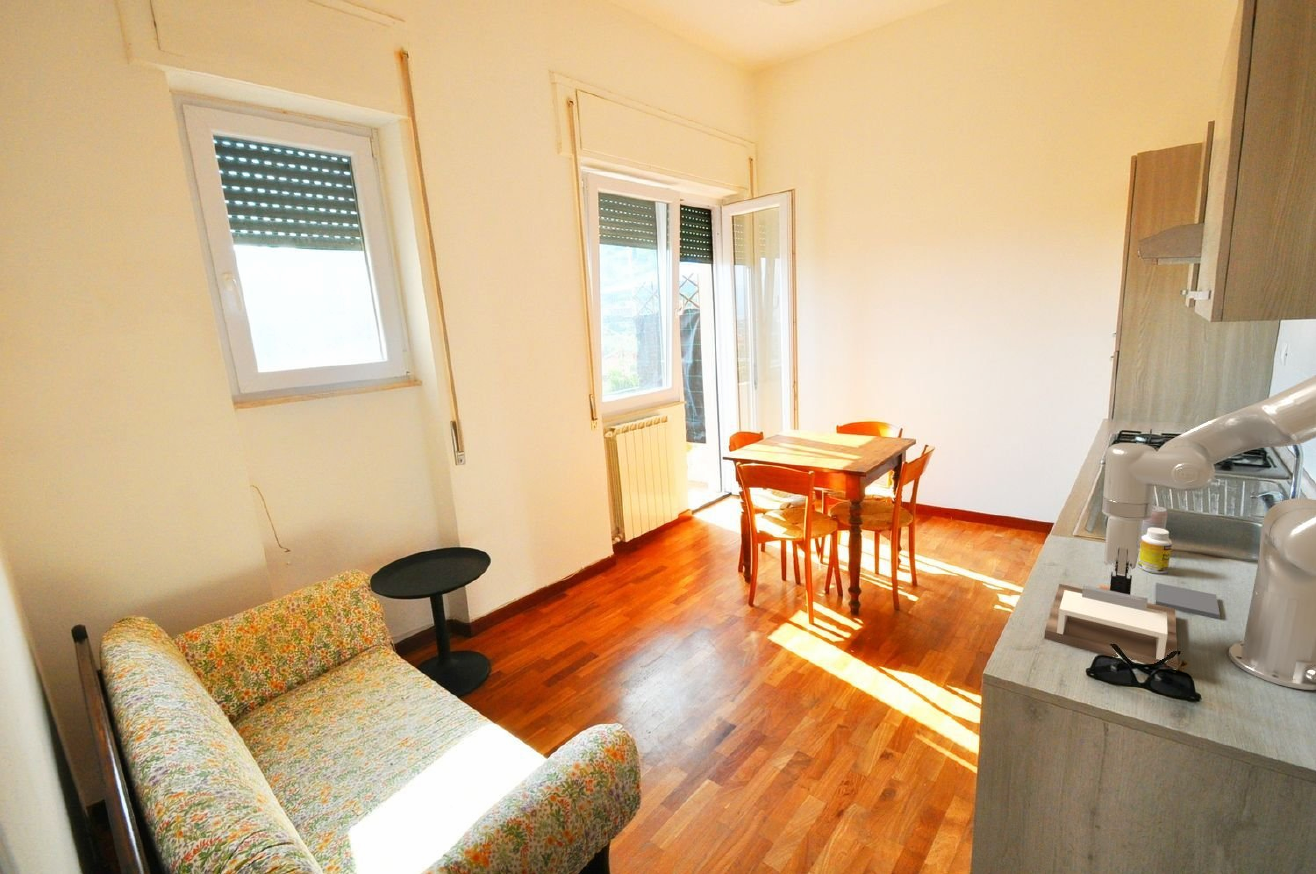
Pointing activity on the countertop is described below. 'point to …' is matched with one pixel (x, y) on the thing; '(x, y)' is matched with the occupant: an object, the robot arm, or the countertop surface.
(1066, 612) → the cream bridge stand
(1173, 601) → the slate mat
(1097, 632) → the puzzle board
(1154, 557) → the supplement bottle
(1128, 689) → the countertop surface
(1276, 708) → the countertop surface
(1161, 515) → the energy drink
